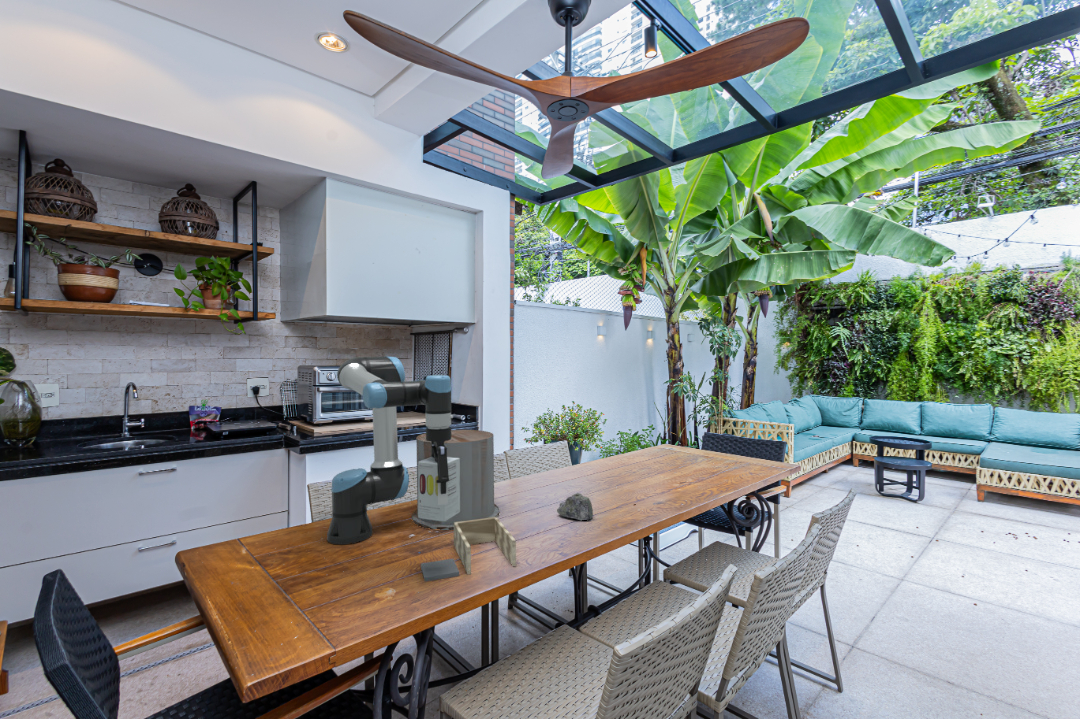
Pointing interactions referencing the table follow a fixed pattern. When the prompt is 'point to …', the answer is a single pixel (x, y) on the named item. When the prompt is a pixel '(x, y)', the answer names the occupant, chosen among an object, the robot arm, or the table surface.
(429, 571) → the plate
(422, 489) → the supplement box
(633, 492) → the table surface
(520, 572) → the table surface
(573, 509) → the mineral rock
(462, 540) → the shelf bay
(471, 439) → the grey streaked cylinder
